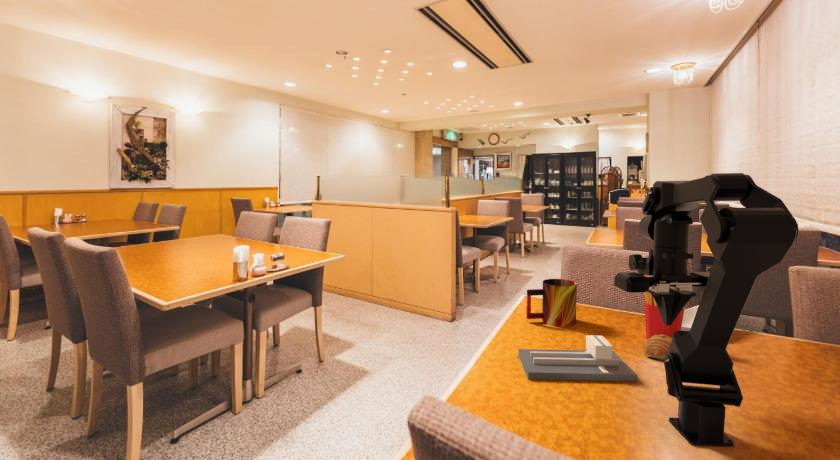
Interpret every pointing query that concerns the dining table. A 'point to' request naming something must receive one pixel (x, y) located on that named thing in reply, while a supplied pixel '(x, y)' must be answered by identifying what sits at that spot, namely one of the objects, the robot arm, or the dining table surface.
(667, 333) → the french fries
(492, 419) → the dining table surface
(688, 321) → the spoon rest
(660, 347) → the pastry
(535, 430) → the dining table surface
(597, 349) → the block
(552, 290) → the mug
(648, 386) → the dining table surface
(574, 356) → the grey slider panel
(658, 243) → the robot arm
